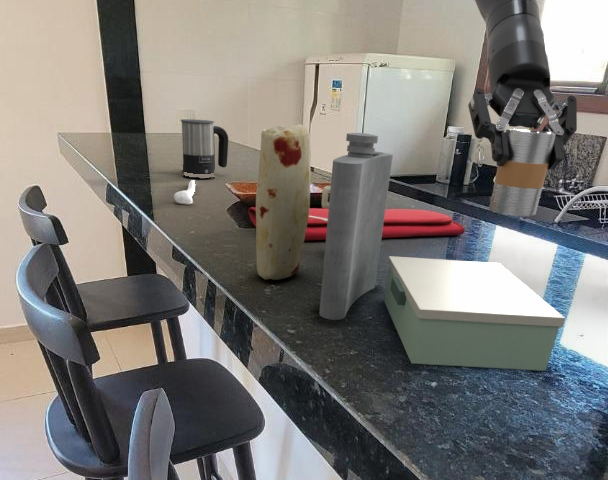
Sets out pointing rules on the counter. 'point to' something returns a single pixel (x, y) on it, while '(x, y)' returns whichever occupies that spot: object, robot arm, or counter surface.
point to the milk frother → (202, 146)
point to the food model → (282, 200)
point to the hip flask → (354, 224)
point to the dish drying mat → (387, 223)
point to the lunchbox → (469, 315)
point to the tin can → (522, 173)
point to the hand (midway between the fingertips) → (529, 163)
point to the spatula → (186, 194)
